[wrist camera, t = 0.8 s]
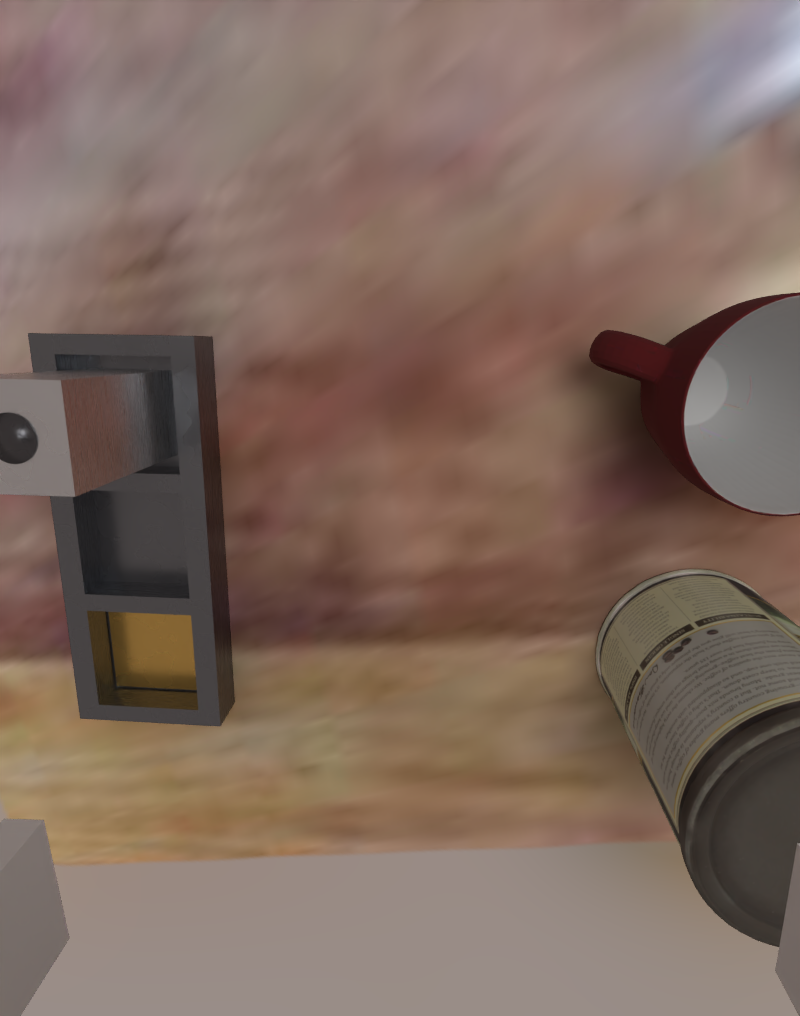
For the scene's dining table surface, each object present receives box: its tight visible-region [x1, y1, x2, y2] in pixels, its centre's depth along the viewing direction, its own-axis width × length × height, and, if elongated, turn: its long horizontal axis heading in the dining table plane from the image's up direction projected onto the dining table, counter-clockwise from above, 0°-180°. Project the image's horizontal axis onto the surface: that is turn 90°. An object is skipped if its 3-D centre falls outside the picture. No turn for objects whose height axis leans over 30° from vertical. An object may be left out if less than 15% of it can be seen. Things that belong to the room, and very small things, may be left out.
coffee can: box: [596, 569, 800, 947], centre depth 28 cm, size 10×10×14 cm
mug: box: [589, 293, 800, 516], centre depth 27 cm, size 11×8×10 cm
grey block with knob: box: [0, 368, 178, 497], centre depth 28 cm, size 4×4×10 cm
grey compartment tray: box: [28, 333, 235, 726], centre depth 34 cm, size 22×9×2 cm, turn 179°
